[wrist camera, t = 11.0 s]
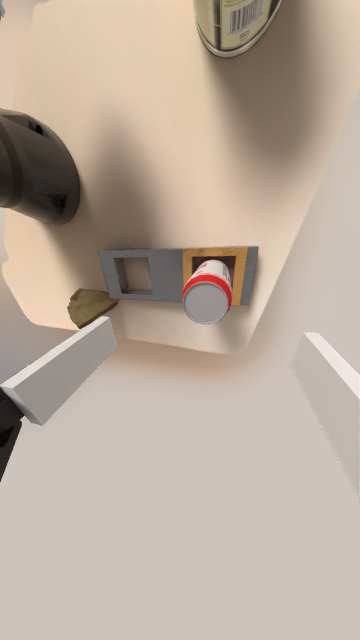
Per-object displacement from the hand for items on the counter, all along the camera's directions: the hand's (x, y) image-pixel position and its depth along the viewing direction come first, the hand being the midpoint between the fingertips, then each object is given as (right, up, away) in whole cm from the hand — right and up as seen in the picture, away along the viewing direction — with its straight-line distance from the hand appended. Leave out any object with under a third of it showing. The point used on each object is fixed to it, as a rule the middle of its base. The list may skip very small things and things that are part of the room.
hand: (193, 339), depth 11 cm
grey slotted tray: (-2, +11, +22) cm, 25 cm away
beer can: (+6, +11, +20) cm, 24 cm away
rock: (-22, +8, +30) cm, 38 cm away
